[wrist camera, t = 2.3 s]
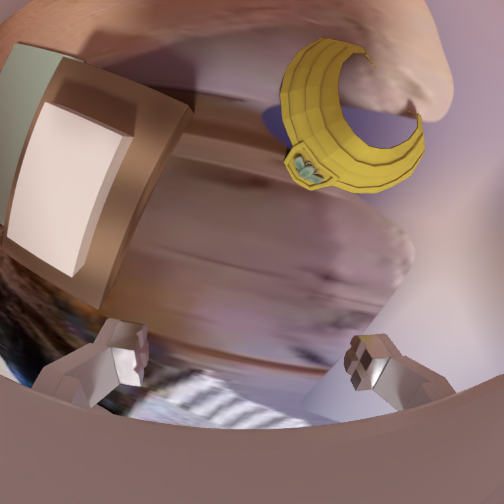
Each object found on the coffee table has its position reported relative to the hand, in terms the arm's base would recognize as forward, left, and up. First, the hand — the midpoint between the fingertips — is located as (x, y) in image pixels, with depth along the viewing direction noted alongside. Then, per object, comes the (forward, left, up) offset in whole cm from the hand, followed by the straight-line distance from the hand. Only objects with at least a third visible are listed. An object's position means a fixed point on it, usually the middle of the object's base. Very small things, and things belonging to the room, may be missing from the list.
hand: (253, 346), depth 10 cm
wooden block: (-1, +12, -12) cm, 17 cm away
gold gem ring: (+13, -3, -13) cm, 18 cm away
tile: (-1, +12, -8) cm, 15 cm away
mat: (-1, +23, -12) cm, 26 cm away
